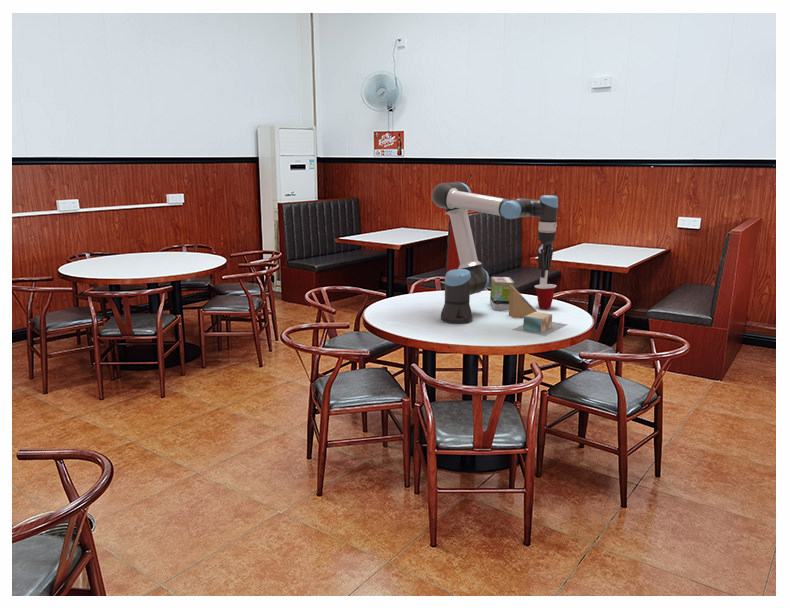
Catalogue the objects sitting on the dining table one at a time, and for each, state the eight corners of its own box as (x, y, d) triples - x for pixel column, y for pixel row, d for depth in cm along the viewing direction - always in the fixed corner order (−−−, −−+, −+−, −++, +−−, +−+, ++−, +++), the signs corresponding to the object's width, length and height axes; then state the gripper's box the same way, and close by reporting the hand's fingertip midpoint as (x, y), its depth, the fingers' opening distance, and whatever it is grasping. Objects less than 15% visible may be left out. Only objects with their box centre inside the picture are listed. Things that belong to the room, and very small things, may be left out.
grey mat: (545, 336, 265) (545, 335, 265) (511, 330, 275) (511, 329, 275) (568, 325, 284) (568, 324, 284) (535, 319, 293) (535, 318, 293)
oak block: (551, 327, 279) (539, 332, 270) (535, 324, 284) (523, 329, 275) (552, 314, 278) (540, 319, 268) (535, 311, 282) (523, 316, 273)
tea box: (513, 311, 310) (514, 282, 307) (493, 310, 310) (494, 281, 307) (508, 304, 325) (510, 276, 321) (489, 303, 325) (490, 276, 321)
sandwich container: (544, 318, 296) (546, 288, 292) (512, 319, 295) (513, 288, 292) (539, 314, 304) (541, 284, 301) (508, 314, 303) (509, 284, 300)
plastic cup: (536, 304, 323) (537, 282, 320) (557, 307, 318) (558, 284, 316) (530, 309, 313) (532, 286, 311) (552, 311, 309) (554, 288, 306)
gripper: (548, 233, 263) (544, 288, 268) (561, 230, 273) (557, 283, 278) (532, 232, 267) (528, 285, 273) (545, 229, 277) (541, 281, 283)
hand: (543, 284), depth 276 cm, fingers closed
